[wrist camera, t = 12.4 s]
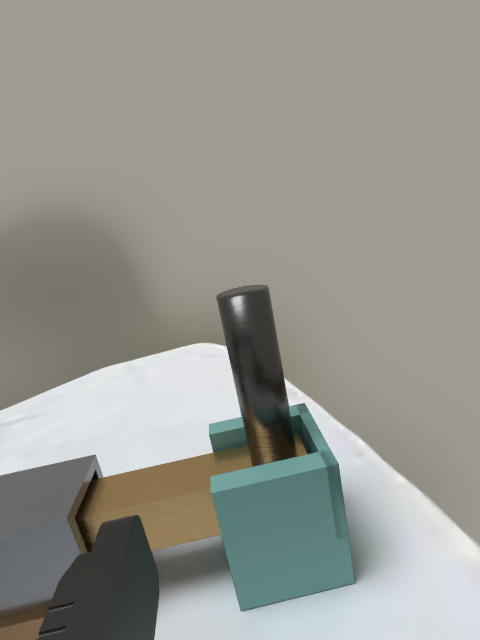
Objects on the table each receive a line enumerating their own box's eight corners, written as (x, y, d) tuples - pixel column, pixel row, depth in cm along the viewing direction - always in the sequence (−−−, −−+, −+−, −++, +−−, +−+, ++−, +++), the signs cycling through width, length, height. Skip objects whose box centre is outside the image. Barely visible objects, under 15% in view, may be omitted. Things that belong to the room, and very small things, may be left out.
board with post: (63, 571, 20) (-26, 353, 16) (81, 526, 23) (8, 334, 19) (319, 511, 20) (284, 289, 17) (305, 475, 23) (272, 279, 20)
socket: (240, 611, 20) (211, 493, 18) (231, 519, 26) (208, 424, 23) (355, 583, 20) (338, 464, 18) (319, 499, 26) (304, 402, 24)
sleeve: (-109, 694, 19) (-181, 581, 17) (-36, 583, 25) (-83, 489, 23) (108, 641, 19) (62, 525, 17) (130, 544, 25) (97, 449, 23)
